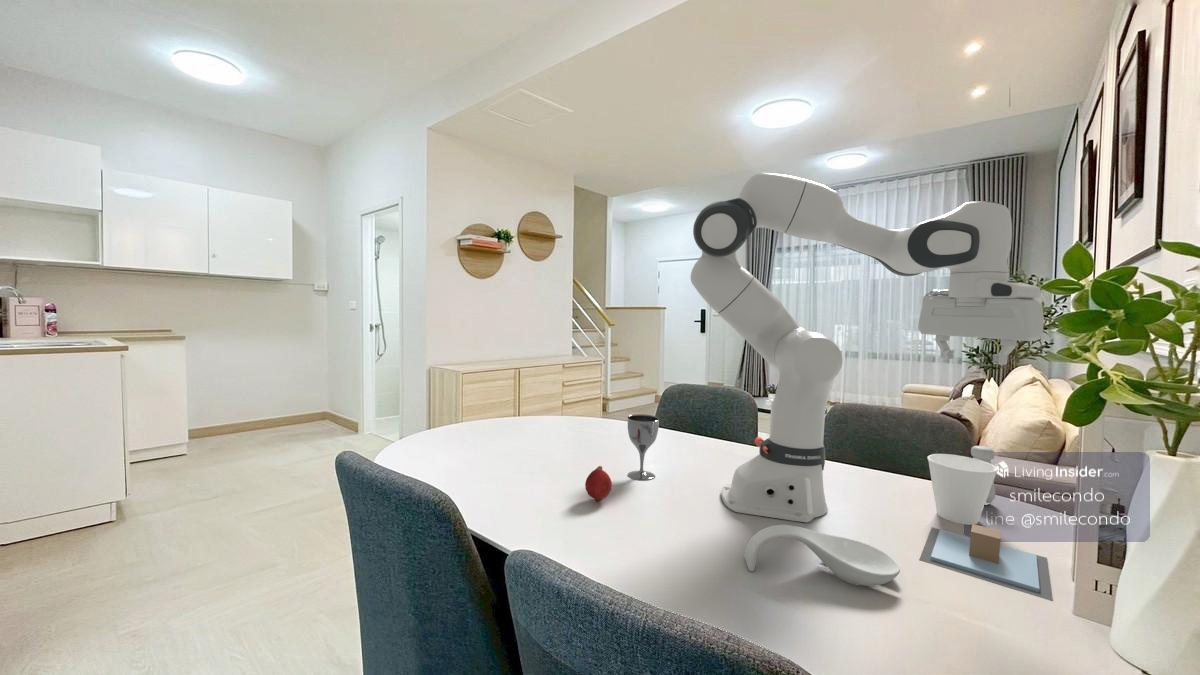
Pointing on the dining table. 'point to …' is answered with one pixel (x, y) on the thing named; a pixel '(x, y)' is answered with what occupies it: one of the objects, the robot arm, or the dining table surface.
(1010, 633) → the dining table surface
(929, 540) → the sheet mat
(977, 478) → the cup
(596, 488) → the onion
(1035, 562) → the cover sheet
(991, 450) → the salt shaker
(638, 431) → the wine glass
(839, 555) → the spoon rest
